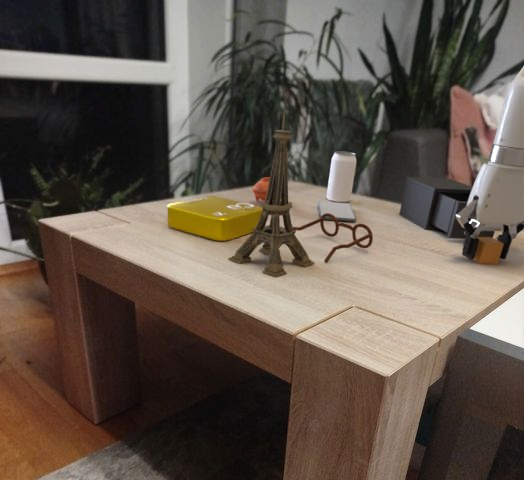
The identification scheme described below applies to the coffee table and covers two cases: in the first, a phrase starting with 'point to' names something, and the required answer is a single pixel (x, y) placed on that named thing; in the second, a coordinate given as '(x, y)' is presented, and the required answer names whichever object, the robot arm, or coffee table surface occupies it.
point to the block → (488, 250)
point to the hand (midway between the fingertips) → (483, 256)
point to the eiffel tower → (275, 217)
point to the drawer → (447, 211)
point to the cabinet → (426, 198)
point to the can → (341, 177)
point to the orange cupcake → (261, 189)
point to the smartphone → (337, 210)
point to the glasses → (321, 220)
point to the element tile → (214, 217)
